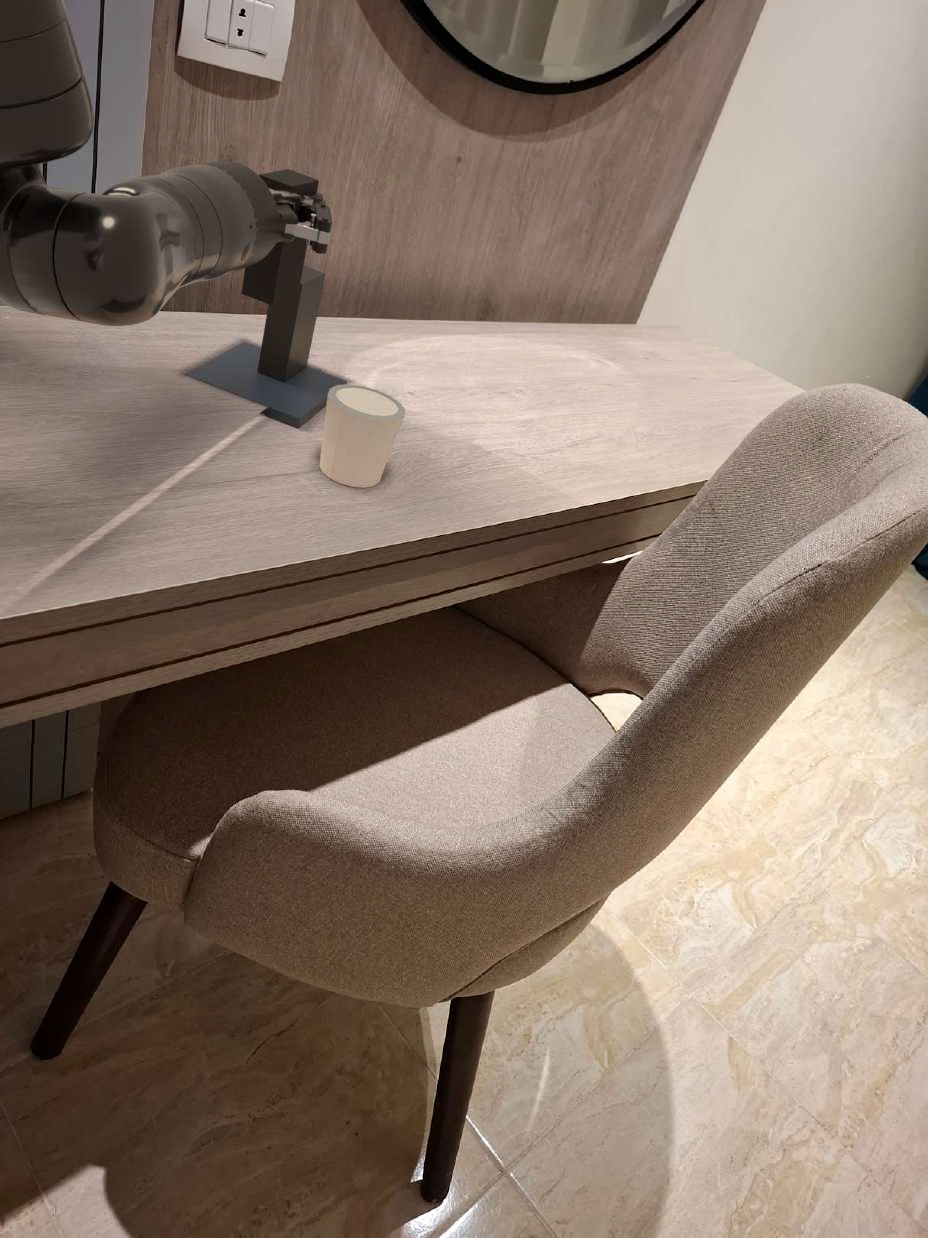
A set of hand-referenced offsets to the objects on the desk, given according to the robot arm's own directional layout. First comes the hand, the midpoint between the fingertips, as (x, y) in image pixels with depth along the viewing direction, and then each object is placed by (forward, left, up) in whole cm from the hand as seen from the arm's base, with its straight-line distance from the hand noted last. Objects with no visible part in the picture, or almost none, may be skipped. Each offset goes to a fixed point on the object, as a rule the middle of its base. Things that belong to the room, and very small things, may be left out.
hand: (298, 198), depth 80 cm
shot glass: (+13, -10, -19) cm, 25 cm away
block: (0, -3, -8) cm, 8 cm away
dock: (0, +1, -19) cm, 19 cm away
